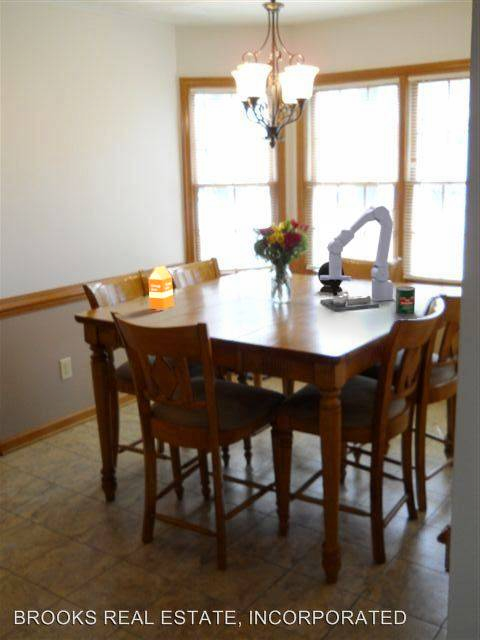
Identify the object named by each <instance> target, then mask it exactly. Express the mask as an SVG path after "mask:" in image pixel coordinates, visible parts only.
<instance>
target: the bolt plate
mask: <svg viewBox="0 0 480 640" xmlns="http://www.w3.org/2000/svg"><path fill="white" fill-rule="evenodd" d="M332 296H333V295H332ZM371 297H372V296H371V295H370V294H367V295H366V296H364V295H361V296H349V298H347V300H346V296H345V295H343V294H337V295H335V296H333V297H332V298H325V299H320V302H319V303H320V304H322V305H323V306H325V307H327V308H329V309H331V310H333V311H334V312H342V311H352V310H363V309H364V310H365V309H374V308H380V303H379V302H377V301H373V300H371Z"/></svg>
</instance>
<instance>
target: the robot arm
mask: <svg viewBox="0 0 480 640" xmlns="http://www.w3.org/2000/svg"><path fill="white" fill-rule="evenodd" d="M373 221H376V222H377V223H378V224H379V225H380V231H379V238H378V245H377V250H376V257H375V261H374V262H373V264H372V265H373V266H372V268H370V276H371V277H372V279H371V296H370V297H371V300H372V301H374V302H382V301H383V302H384V301H393V300H395V299H394V284H393V281H392V280H390V279H389V277H390V272H389V264H388V259H389V258H388V257H389V253H390V252H389V251H390V246H391V239H392V233H393V225H394V222H393V219H392V217H391V215H390V211H389V209H388V208H387V207H385V206H383V205H379V204H372V205H371V206H369V208H367V209H366V210H365V211H363V213H362V215H360V217H359V218H358V219H357V220H356V221H355V222H354V223H353V224H352V225H351V226H350V227H349V228H347V227H346V228H345V229H341V231H340V233H339V234H338V235H337V236H336V237H333V240H331V241H329V242H328V244H327V247H326V249H327V250H328V262H329V275H321V276H320V280H329V284H330V286H331V288H332V291H333V293H332V296H335V295H339V292H338V289H339V287H341V284H342V283H343V282H345V281H347V282H351V281H352V276H351V275H344V276H342V275H341V266H342V252H343V250H344V248H345V247H346V246H347V245H348V244H349V243H350V242H351V241H352V240H353V239H354V238H355V233H356V232H358V231H359V230H360V229H361V228H362V227H364V225H366V224H367V223H368V222H373Z"/></svg>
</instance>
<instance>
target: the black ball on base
mask: <svg viewBox="0 0 480 640" xmlns="http://www.w3.org/2000/svg"><path fill="white" fill-rule="evenodd" d="M321 275H329V261H327V262H324V263H323V264H321V265H320V267H319V269H318V271H317V277H318V280H319V282H320V284H321V285H322V287H320V290H319V291H321V292H320V293H323V294H333V291H332V288H331V286H330V284H329V280H320V276H321ZM341 275H342V276H345V270H344V268H343V266H342V265H341ZM342 292H343V288H342V287H341V286H339V289H338V293H342Z"/></svg>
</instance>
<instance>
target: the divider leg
mask: <svg viewBox="0 0 480 640" xmlns="http://www.w3.org/2000/svg"><path fill="white" fill-rule="evenodd" d="M342 295H345V296H346V300H347V298H349V297H350V296H349V292H348V291H345V292H344V294H342Z"/></svg>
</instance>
